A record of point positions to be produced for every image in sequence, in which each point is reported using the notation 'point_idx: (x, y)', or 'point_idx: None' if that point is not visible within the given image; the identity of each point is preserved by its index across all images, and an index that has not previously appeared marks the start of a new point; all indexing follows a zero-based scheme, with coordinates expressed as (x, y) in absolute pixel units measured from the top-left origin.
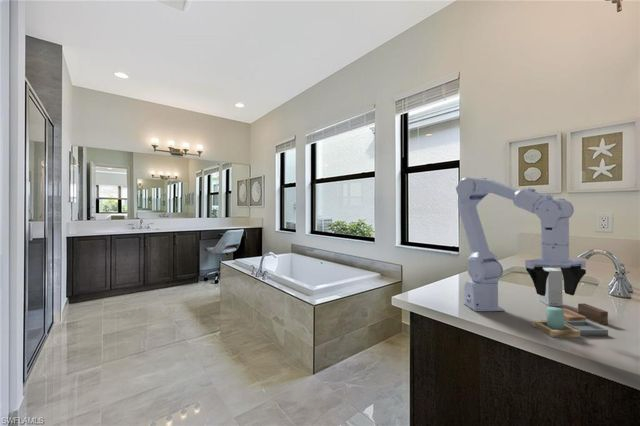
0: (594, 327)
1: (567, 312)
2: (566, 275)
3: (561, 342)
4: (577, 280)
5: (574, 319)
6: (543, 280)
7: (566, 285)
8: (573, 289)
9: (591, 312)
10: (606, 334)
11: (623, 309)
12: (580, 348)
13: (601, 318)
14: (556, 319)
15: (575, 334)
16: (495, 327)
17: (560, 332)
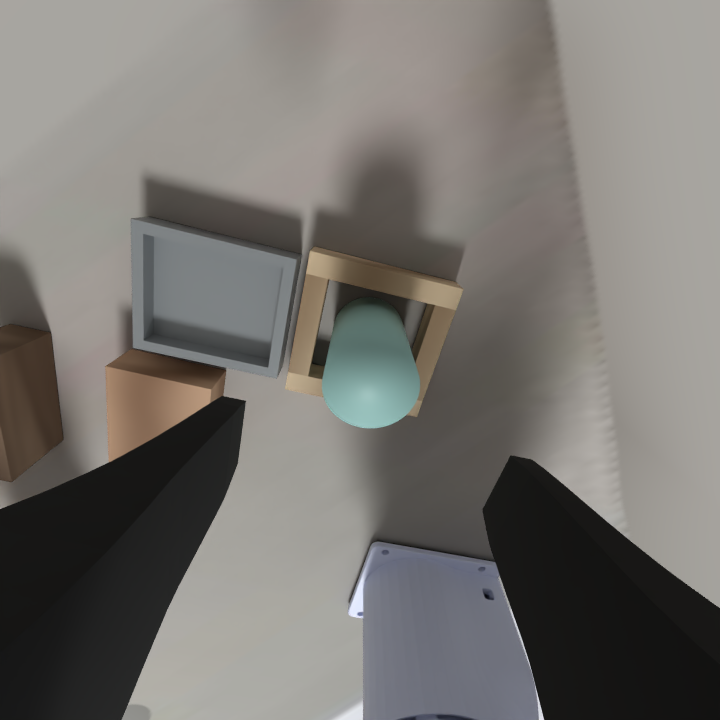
0: (151, 288)
1: (151, 435)
2: (118, 678)
3: (476, 225)
4: (97, 500)
5: (180, 376)
6: (706, 613)
7: (203, 519)
8: (215, 427)
9: (19, 399)
10: (155, 218)
11: None
12: (460, 139)
13: (19, 343)
14: (401, 334)
15: (338, 255)
16: (591, 430)
17: (420, 277)
